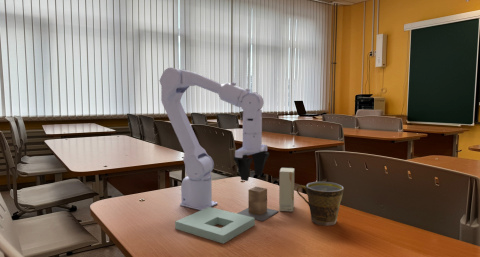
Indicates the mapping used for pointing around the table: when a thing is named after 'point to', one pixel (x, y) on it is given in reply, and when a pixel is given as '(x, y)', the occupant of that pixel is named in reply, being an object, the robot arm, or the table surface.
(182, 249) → the table surface
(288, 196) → the skincare box
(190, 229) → the pocket board
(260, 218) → the rubber mat
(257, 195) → the walnut block
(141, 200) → the table surface
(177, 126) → the robot arm
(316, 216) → the ceramic cup
